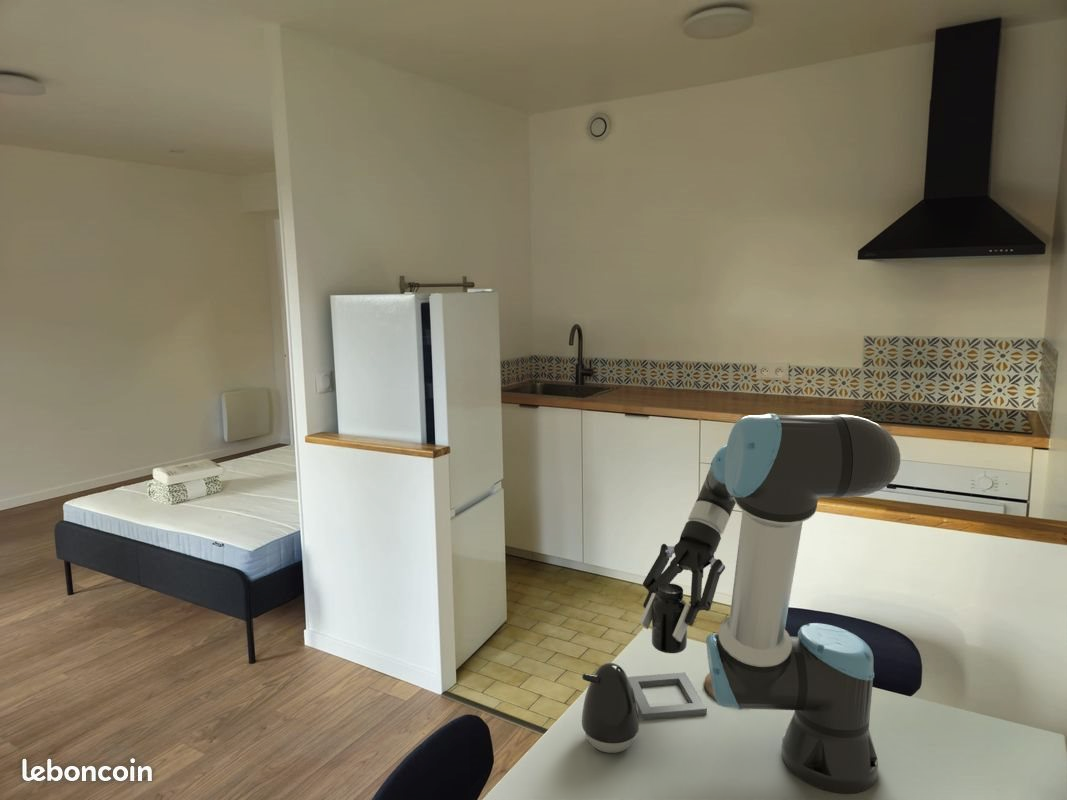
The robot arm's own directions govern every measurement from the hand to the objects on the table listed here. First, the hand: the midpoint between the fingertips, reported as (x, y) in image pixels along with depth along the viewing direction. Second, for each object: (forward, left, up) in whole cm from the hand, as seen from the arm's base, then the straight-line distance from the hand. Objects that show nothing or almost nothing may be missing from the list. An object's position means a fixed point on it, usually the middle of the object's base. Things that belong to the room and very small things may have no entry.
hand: (659, 632), depth 133 cm
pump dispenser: (-10, +12, -16) cm, 22 cm away
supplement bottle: (+2, -3, -4) cm, 6 cm away
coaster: (+3, -17, -15) cm, 23 cm away
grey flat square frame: (+2, -2, -15) cm, 16 cm away
